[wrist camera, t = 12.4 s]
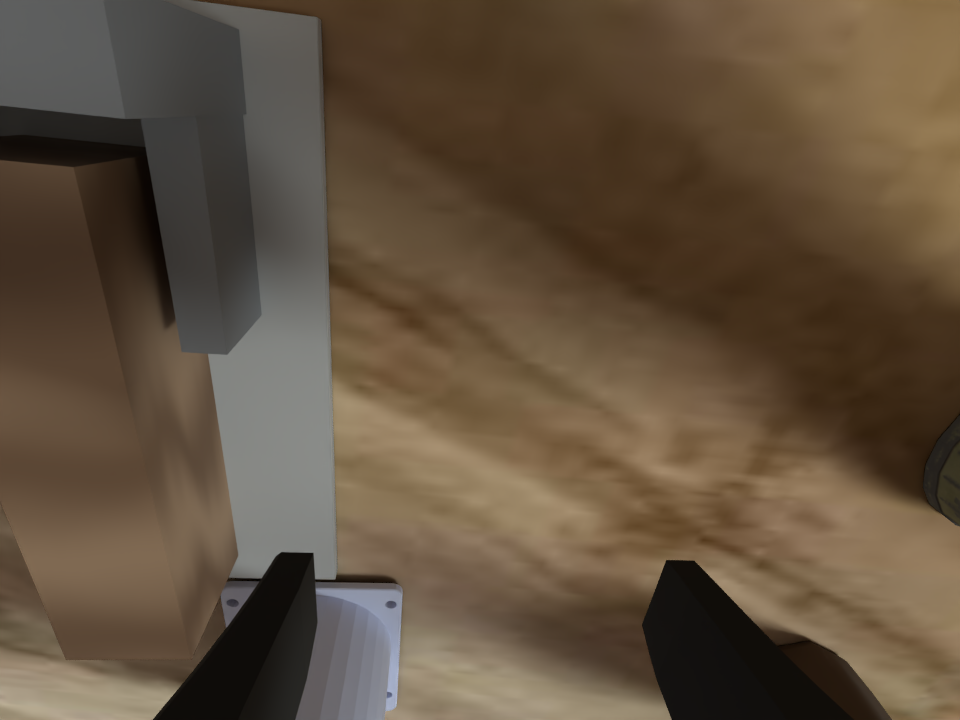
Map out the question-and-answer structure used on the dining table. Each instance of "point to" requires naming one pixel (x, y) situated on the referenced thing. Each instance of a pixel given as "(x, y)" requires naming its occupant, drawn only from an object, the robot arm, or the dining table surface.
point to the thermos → (945, 474)
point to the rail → (104, 409)
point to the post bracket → (215, 218)
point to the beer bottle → (836, 680)
